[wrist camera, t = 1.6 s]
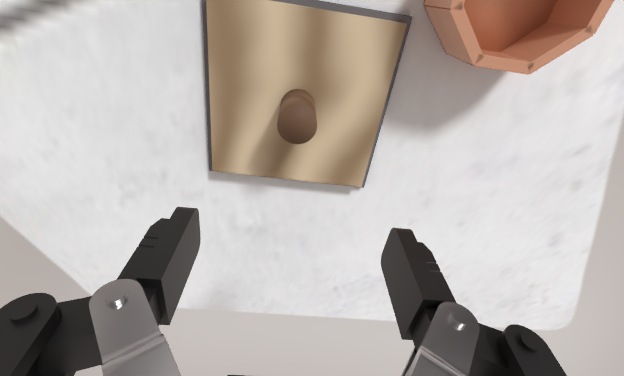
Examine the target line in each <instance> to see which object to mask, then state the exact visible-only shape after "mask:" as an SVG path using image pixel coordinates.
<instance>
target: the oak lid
mask: <svg viewBox="0 0 624 376" xmlns="http://www.w3.org/2000/svg"><path fill="white" fill-rule="evenodd" d="M206 7H207V35H208V63H209V91H210V119H211V147H212V171H217V172H226V173H236V174H245V175H254V176H263V177H272V178H282V179H291V180H300V181H309V182H318V183H327V184H337V185H346V186H355V187H362V184H363V180H364V177H365V173H366V169H367V166H368V162H369V159H370V155H371V152H372V148H373V144H374V141H375V137H376V134H377V130H378V126H379V123H380V119H381V116H382V112H383V109H384V105H385V101H386V98H387V94H388V91H389V87H390V83H391V80H392V76H393V73H394V69H395V66H396V62H397V58H398V55H399V51H400V48H401V44H402V40H403V37H404V33H405V30H406V26H407V24H406V23H402V22H396V21H390V20H384V19H378V18H372V17H366V16H360V15H354V14H348V13H342V12H336V11H330V10H324V9H318V8H313V7H307V6H301V5H295V4H289V3H283V2H277V1H271V0H206Z"/></svg>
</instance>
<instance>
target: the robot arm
mask: <svg viewBox="0 0 624 376" xmlns="http://www.w3.org/2000/svg"><path fill="white" fill-rule="evenodd" d="M199 247H200V225H199V212H198V209H197V208H186V207H177V208H176V209H175V211H174V213H173V214H172V216H171V218H170V219H164V218H161V219H160V220H159V221H157V222H156V223H154V224H153V225H152V226H150V228H149V230H148V231H147V233H146V234H145V236H144V239H142V241H141V242H140V244H139V247H137V248H136V250H135V252H134V253H133V255H132V256H131V258H130V259H129V261H128V263H127V264H126V266H125V267H124V269H123V270H122V272H121V274H120V275H119V277H118V278H117V280H115V281H112V282H109V283H107V284H105V285H103V286H102V287H100V288H99V289H98V290H97V291H96V292H95V293H94V294H93V296H90V297H86V298H82V299H76V300H71V301H65V302H60V303H57V302H56V300H55V298H54V297H53V296H51V295H49V294H46V293H34V294H28V295H25V296H22V297H19V298H17V299H15V300H13V301H11V302H9V303H8V304H7V305H5V306H3V307H2V308H1V309H0V376H74V374H75V372H76V371H78V370H82V369H86V368H90V367H94V366H97V365H102V372H103V376H181V374H180V372H179V369H178V367H177V364H176V362H175V360H174V357H173V355H172V353H171V350H170V348H169V345H168V343H167V341H166V338H165V337H164V335H163V334H161V332H160V330H159V327H158V326H159V324H160V325H170V322H171V320H172V317H173V315H174V312H175V310H176V307H177V305H178V302H179V299H180V297H181V294H182V292H183V289H184V287H185V284H186V282H187V279H188V277H189V274H190V272H191V269H192V266H193V264H194V261H195V259H196V256H197V254H198V251H199ZM381 267H382V271H383V274H384V278H385V281H386V285H387V288H388V292H389V295H390V299H391V302H392V306H393V309H394V313H395V316H396V320H397V323H398V327H399V330H400V334H401V337H402V339H406V340H413V342H414V345H415V347H414V349H413V351H412V353H411V355H410V357H409V360H408V362H407V364H406V367H405V369H404V371H403V373H402V375H401V376H566V374H565V372H564V371H563V369H562V367H561V366H560V364H559V363H558V361H557V360H556V358H555V357H554V355H553V353H552V352H551V350H550V349H549V347H548V345H547V344H546V343H545V342H544V341H543V339H542V338H540V337H539V336H538V335H537V334H536V333H534V332H533V331H532V330H530V329H528V328H526V327H524V326H521V325H510V326H508V327H507V328H506V329H505V330H504V331H503V332H502V331H499V330H497V329H494V328H491V327H488V326H485V325H482V324H480V323H478V321H477V319H476V318H475V316H474V315H473V314H472V313H471V312H470V311H469V310H468V309H466V308H465V307H463V306H462V305H460V304H457V303H456V301H455V299H454V297H453V295H452V293H451V291H450V289H449V287H448V285H447V283H446V281H445V279H444V277H443V275H442V272H440V268H439V266H438V264H436V260H435V258H434V256H433V254H432V252H431V251H430V250H429V249H428V248H427V247H426V246H425V245H424V244H423V243H421V242H417V240H416V238H415V236H414V234H413V232H412V230H410V229H401V228H392V229H391V231H390V234H389V236H388V239H387V242H386V244H385V247H384V250H383V252H382V256H381ZM228 376H243V375H228Z"/></svg>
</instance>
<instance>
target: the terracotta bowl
mask: <svg viewBox="0 0 624 376" xmlns="http://www.w3.org/2000/svg"><path fill="white" fill-rule="evenodd" d="M613 2H614V0H425V3H424V5H425V6H424V8H425V10H426V12H427V14H428V16H429V18H430V21H431V23H432V25H433V27H434V29H435V31H436V33H437V36H438V38H439V40H440V42H441V44H442V46H443V49H444V51H445V53H447V54H449V55H451V56H453V57H455V58H458V59H460V60H462V61H464V62H467V63H469V64H471V65H473V66H478V67H484V68H490V69H497V70H503V71H509V72H516V73H522V74H531V73H533V72H534V71H536V70H538V69H539V68H541V67H543V66H544V65H546V64H547V63H549V62H551V61H552V60H554V59H556V58H557V57H559V56H560V55H562V54H564V53H565V52H567V51H569V50H570V49H572V48H573V47H575V46H577V45H578V44H580V43H582V42H583V41H585V40H586V39H588V38H590V37H591V36H593V34H595V32H596V31H597V29H598V27H599V26H600V24H601V22H602V20H603V19H604V17H605V15H606V14H607V12H608V10H609V8H610V7H611V5H612V3H613Z"/></svg>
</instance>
